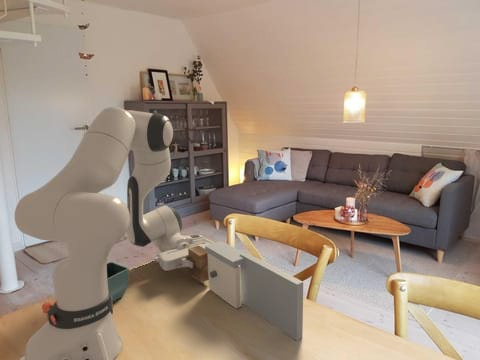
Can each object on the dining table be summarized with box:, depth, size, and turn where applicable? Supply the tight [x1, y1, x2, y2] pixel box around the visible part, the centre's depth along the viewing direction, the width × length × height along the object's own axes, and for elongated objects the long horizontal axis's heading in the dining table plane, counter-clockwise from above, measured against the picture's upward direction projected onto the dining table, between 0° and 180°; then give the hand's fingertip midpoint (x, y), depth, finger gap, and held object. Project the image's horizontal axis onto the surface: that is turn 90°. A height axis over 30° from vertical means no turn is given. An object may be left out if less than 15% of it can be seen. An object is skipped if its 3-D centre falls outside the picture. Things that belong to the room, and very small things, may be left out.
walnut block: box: [188, 245, 209, 283], centre depth 118 cm, size 4×7×9 cm, turn 37°
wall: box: [205, 240, 304, 341], centre depth 101 cm, size 6×34×15 cm, turn 37°
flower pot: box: [107, 261, 130, 303], centre depth 110 cm, size 9×9×9 cm
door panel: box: [207, 253, 242, 309], centre depth 108 cm, size 3×14×12 cm, turn 37°
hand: (201, 262), depth 117 cm, fingers closed on walnut block, 4 cm apart
